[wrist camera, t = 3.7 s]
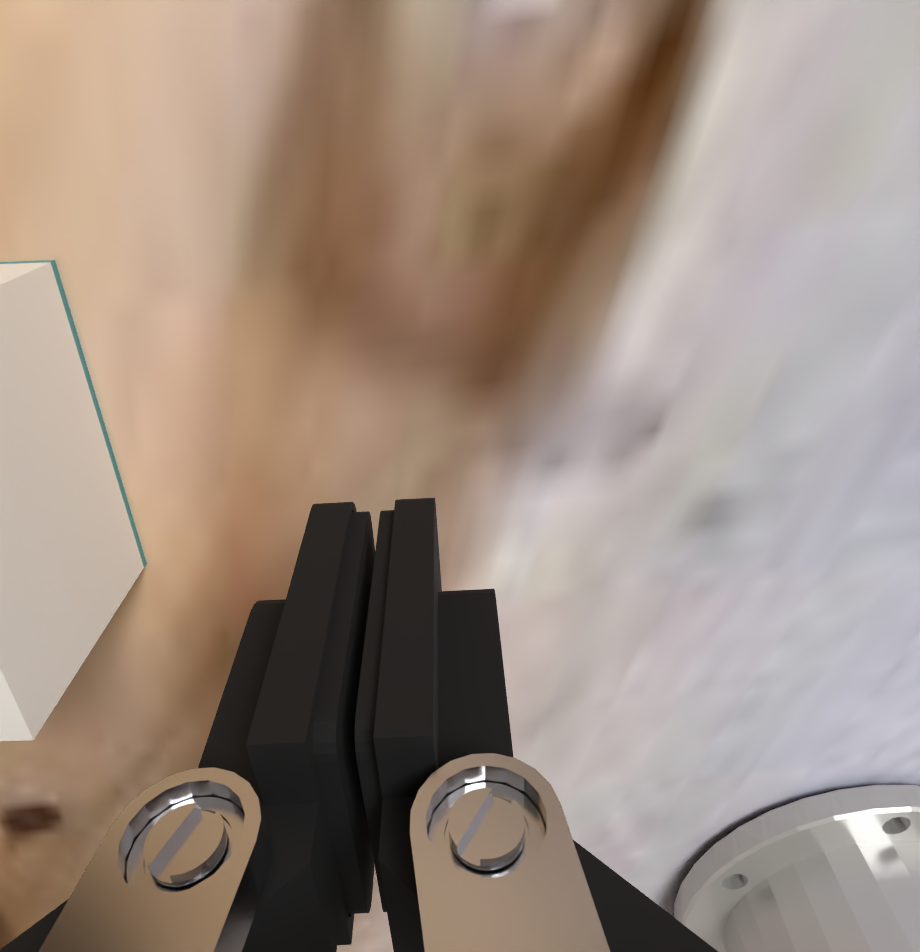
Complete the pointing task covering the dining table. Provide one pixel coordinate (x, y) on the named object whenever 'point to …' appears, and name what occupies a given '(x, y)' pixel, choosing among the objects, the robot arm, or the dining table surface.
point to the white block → (52, 503)
